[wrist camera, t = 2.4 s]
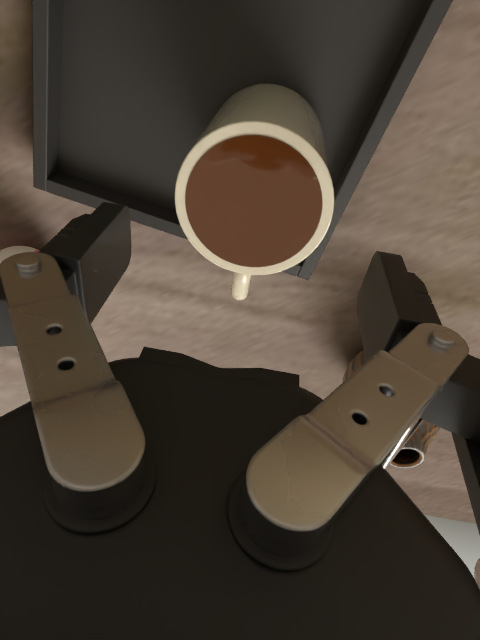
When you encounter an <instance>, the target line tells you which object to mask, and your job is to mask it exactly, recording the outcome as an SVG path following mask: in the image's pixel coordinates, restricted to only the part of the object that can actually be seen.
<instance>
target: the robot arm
mask: <svg viewBox="0 0 480 640" xmlns="http://www.w3.org/2000/svg"><path fill="white" fill-rule="evenodd" d="M130 258H131V230H130V211H129V208H128V206H125V205H120V204H114V203H108V202H103V203H101V205H100V206H99V207H98V208H97V209H96V210H95V211H94V212H93V213H92V214H91V215H90V214H84V215H82V216H79V217H77V218H75V219H72V220H71V221H70V222H69V223H68V224H67V225H66V226H65V227H64V229H62V230H61V231H60V232H59V233H58V235H56V236H55V237H54V238H53V239H51V240H50V241H49V242H48V243H47V244H46V245H45V246H44V247H43V248H42V249H41V250H40V251H39V252H24V253H19V254H15V255H12V256H10V257H8V258H6V259H5V260H3V261H2V262H1V264H0V346H17V347H18V351H19V355H20V359H21V363H22V367H23V371H24V375H25V379H26V383H27V387H28V391H29V395H30V399H31V401H30V402H28V403H26V404H24V405H22V406H20V407H18V408H17V409H15V410H13V411H11V412H9V413H7V414H5V415H3V416H1V417H0V640H480V558H479V559H478V561H477V563H476V566H475V573H474V574H475V579H474V577H473V576H472V574H471V572H470V571H469V569H468V568H467V566H466V565H465V564H464V562H463V561H462V560H461V558H460V557H459V556H458V555H457V553H456V552H455V551H454V550H453V549H452V547H450V545H449V544H448V543H447V542H446V541H445V539H444V538H443V537H442V536H441V535H440V533H439V532H438V531H437V530H436V529H435V527H434V526H433V525H432V524H431V523H430V522H429V520H428V519H427V518H426V517H425V516H424V515H423V513H422V512H421V511H420V510H419V509H418V507H417V506H416V505H415V504H414V503H413V502H412V500H411V499H410V498H409V497H408V496H407V494H406V493H405V492H404V491H403V490H402V489H401V487H400V486H399V485H398V484H397V483H396V481H395V480H394V479H393V478H392V477H391V476H390V474H389V473H388V472H387V471H386V469H387V467H388V466H389V464H390V463H391V462H392V460H393V459H394V458H395V456H396V455H397V454H398V452H399V451H400V450H401V449H402V447H403V446H404V445H405V443H406V442H407V441H408V440H409V438H410V437H411V436H412V434H413V433H414V432H415V431H416V429H417V428H418V427H419V425H420V424H421V423H422V421H423V420H425V421H427V422H429V423H432V424H434V425H436V426H438V427H441V428H443V429H445V430H448V431H450V432H452V436H453V440H454V443H455V447H456V451H457V454H458V458H459V462H460V465H461V469H462V472H463V476H464V480H465V483H466V487H467V491H468V494H469V498H470V502H471V505H472V509H473V512H474V516H475V520H476V523H477V527H478V530H479V534H480V359H478V358H475V357H473V356H471V355H469V354H468V353H469V348H468V345H467V343H466V342H465V340H464V339H463V338H462V337H461V336H460V335H459V334H457V333H456V332H454V331H453V330H451V329H449V328H447V327H444V326H442V324H441V322H440V319H439V317H438V315H437V312H436V310H435V308H434V305H433V304H431V303H432V301H431V298H430V296H429V295H428V291H427V289H426V287H425V284H424V283H423V282H422V281H421V280H420V279H419V278H418V277H417V276H416V275H415V274H414V273H410V272H407V269H406V267H405V264H404V261H403V259H402V257H401V255H396V254H390V253H385V252H379V251H377V252H376V253H375V254H374V256H373V258H372V260H371V263H370V265H369V268H368V270H367V273H366V276H365V278H364V281H363V283H362V286H361V288H360V291H359V294H358V298H357V315H358V321H359V326H360V332H361V338H362V343H363V349H364V355H365V361H366V363H365V364H363V365H362V366H361V367H360V368H359V369H358V370H357V371H356V372H354V373H353V374H352V375H351V376H350V377H349V378H348V379H347V380H345V381H344V382H343V383H342V384H341V385H340V386H339V387H338V388H336V389H335V390H334V391H333V392H332V393H331V394H330V395H329V396H328V397H326V398H325V399H324V400H322V399H321V398H320V397H318V396H316V395H315V394H313V393H311V392H309V391H307V390H306V389H303V388H301V387H299V375H297V374H291V373H286V372H280V371H275V370H269V369H264V368H218V367H215V366H212V365H210V364H207V363H205V362H202V361H200V360H197V359H194V358H192V357H189V356H187V355H184V354H181V353H176V352H170V351H165V350H159V349H154V348H148V347H144V348H143V350H142V352H141V354H140V357H139V358H127V359H121V360H116V361H112V362H109V363H108V362H107V360H106V357H105V355H104V353H103V351H102V349H101V346H100V344H99V342H98V340H97V337H96V335H95V333H94V331H93V329H92V326H91V323H92V321H93V320H94V318H95V317H96V315H97V314H98V312H99V311H100V309H101V307H102V306H103V304H104V303H105V301H106V300H107V298H108V297H109V295H110V294H111V292H112V291H113V289H114V287H115V286H116V284H117V283H118V281H119V280H120V278H121V277H122V275H123V274H124V272H125V271H126V269H127V267H128V265H129V262H130Z"/></svg>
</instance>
